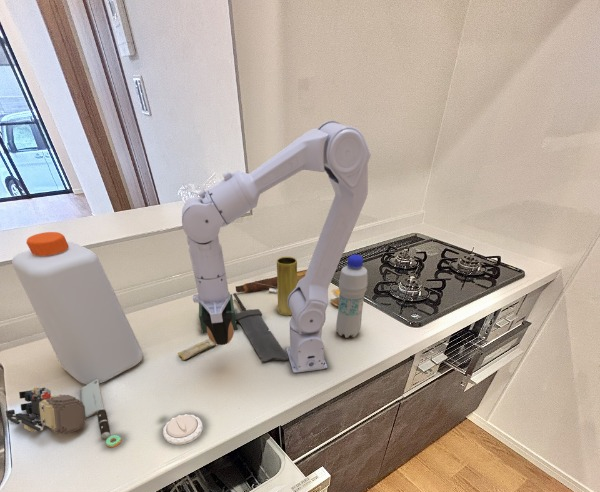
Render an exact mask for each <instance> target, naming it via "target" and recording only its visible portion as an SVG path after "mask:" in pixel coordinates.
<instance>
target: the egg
mask: <svg viewBox="0 0 600 492" xmlns="http://www.w3.org/2000/svg"><path fill="white" fill-rule="evenodd" d="M234 332H235V330H233V325H232V323H231V322H230V324H229V329H228V343H227V344H229V343H230V342H231V341H232V339H233V337H234ZM206 334H207V336H208V339H209V338H210V340H211V341H212V342H214V343H215V344H216V345H217V343H216V341H215V339H214V337H213V335H212V333H211V331H210V329H209V328H208V327H207V333H206ZM225 345H226V344H222V345H221V346H225Z"/></svg>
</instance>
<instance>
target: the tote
mask: <svg viewBox="0 0 600 492" xmlns="http://www.w3.org/2000/svg"><path fill="white" fill-rule="evenodd" d="M229 312H231V313H232V319H231V323H232V325H233V330H234V331H236V330H238V327H237V322H236V319H235V314H236V312H235V305H234V298H233V293H230V300H229V302H228V304H227V310H226V313H229ZM203 313H209V312H208V311H207V310H206V309H205V308H204V307H203V306H202V304H201V303H199V302H198V319H199V323H200V327H201V328H200V329H201V332H202V334H208V333H207V326H206V325H205V324H204V322H203V320H202V314H203Z"/></svg>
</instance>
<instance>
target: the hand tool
mask: <svg viewBox="0 0 600 492" xmlns="http://www.w3.org/2000/svg"><path fill="white" fill-rule="evenodd" d="M306 272H307V269H302V270H297V284H298V281H299V280H300V279H302V278H303V277H305V274H306ZM254 282H255V283H254ZM259 283H260V284H259ZM268 285H269V286H268ZM273 286H274V287H273ZM269 288H272V289H274V288H277V276H274V277H269V278H263V279H259V280H254V281H252V282H246V283H244V284H242V285H236V286H235V293H243V292H245V293H250V292H257V291H264V290H269Z"/></svg>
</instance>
